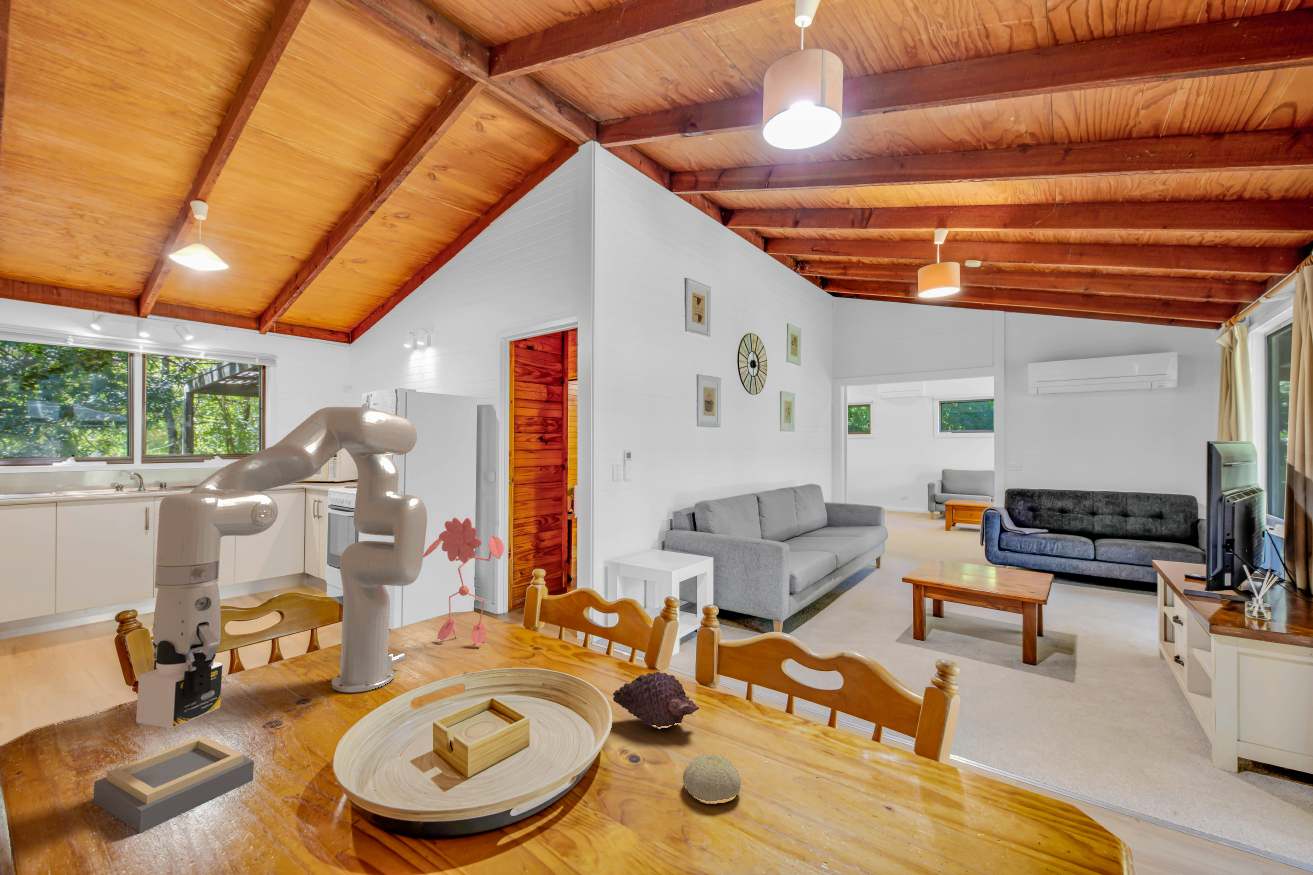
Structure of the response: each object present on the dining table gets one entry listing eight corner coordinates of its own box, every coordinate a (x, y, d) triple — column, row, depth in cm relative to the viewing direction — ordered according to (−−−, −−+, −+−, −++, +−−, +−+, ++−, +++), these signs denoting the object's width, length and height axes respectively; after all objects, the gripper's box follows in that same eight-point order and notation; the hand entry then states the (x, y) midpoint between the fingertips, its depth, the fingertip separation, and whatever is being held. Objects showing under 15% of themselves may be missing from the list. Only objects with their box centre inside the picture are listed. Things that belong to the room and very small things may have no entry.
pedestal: (205, 756, 93) (206, 731, 94) (253, 779, 87) (254, 752, 87) (93, 802, 81) (94, 772, 81) (139, 832, 75) (141, 801, 75)
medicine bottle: (173, 729, 80) (178, 645, 81) (134, 723, 82) (139, 641, 82) (221, 707, 87) (225, 630, 88) (184, 702, 89) (189, 627, 89)
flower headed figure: (433, 633, 159) (436, 512, 160) (512, 644, 152) (515, 517, 152) (393, 652, 145) (397, 518, 145) (479, 665, 137) (482, 524, 138)
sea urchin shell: (746, 766, 91) (741, 748, 86) (739, 821, 86) (733, 806, 81) (693, 755, 94) (684, 737, 89) (683, 808, 89) (673, 792, 84)
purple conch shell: (604, 729, 106) (606, 676, 107) (622, 707, 116) (623, 659, 116) (694, 744, 101) (696, 689, 102) (705, 720, 111) (706, 669, 111)
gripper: (247, 576, 85) (240, 691, 84) (187, 564, 92) (181, 670, 92) (188, 585, 78) (181, 711, 77) (129, 571, 86) (122, 686, 85)
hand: (181, 688), depth 85 cm, fingers closed on medicine bottle, 8 cm apart
